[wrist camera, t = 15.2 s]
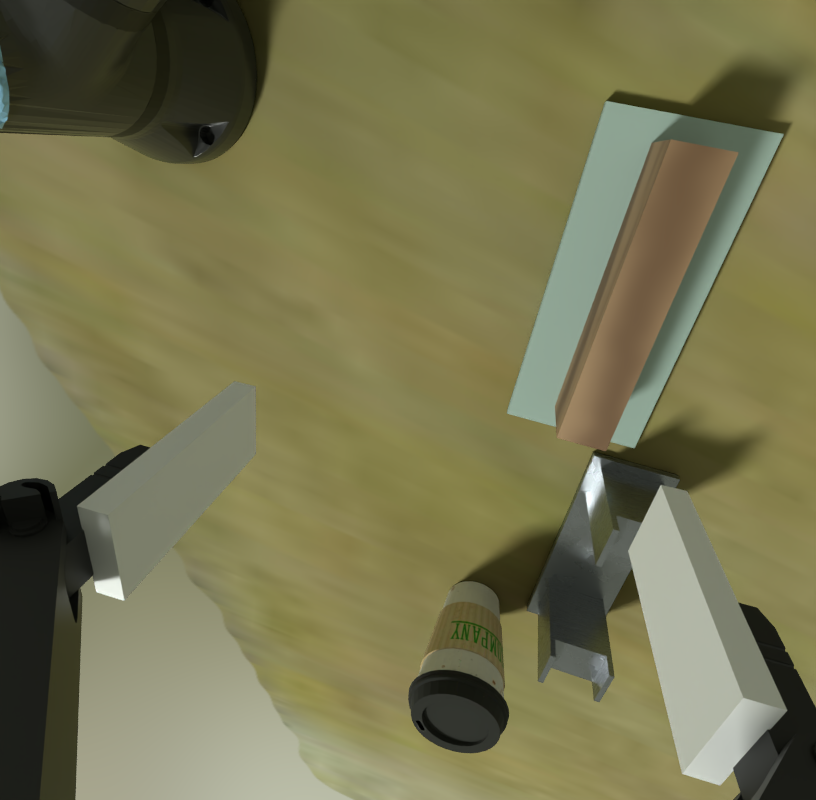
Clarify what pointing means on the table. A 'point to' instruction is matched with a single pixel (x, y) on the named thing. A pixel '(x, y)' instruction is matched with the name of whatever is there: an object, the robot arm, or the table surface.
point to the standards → (591, 567)
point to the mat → (594, 240)
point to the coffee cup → (463, 674)
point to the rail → (639, 285)
